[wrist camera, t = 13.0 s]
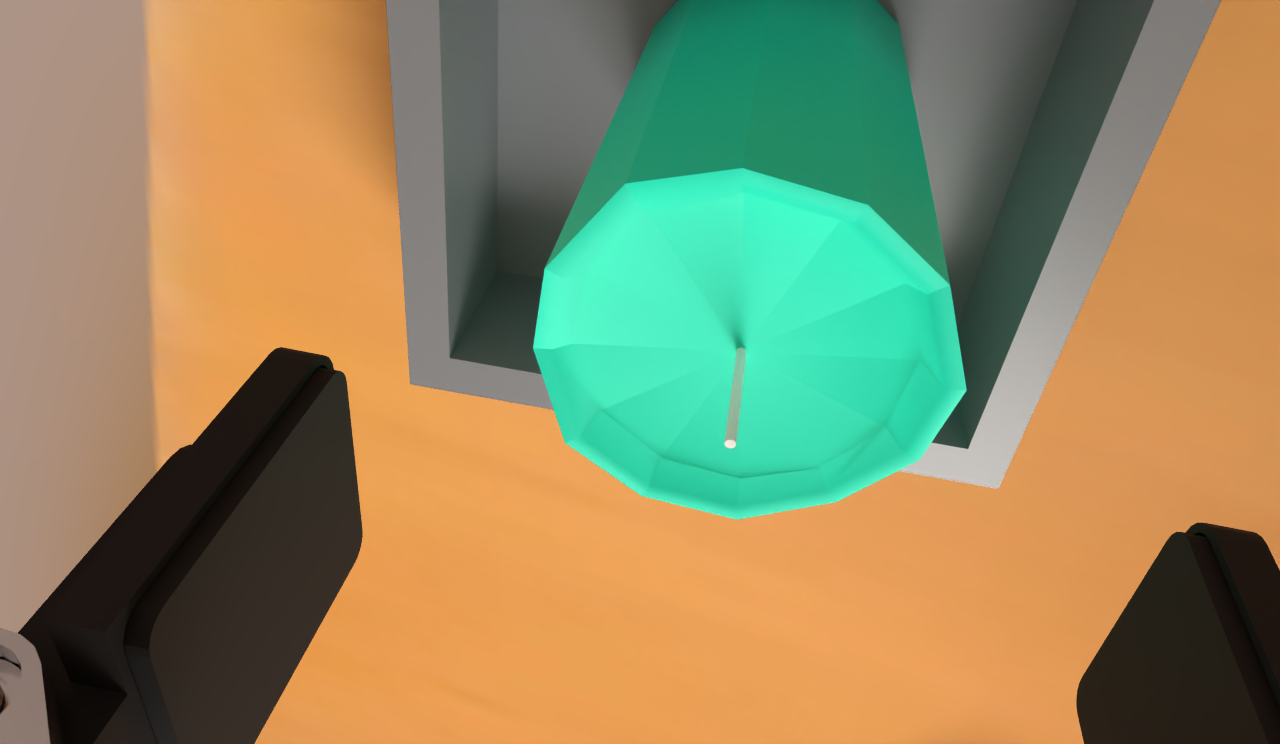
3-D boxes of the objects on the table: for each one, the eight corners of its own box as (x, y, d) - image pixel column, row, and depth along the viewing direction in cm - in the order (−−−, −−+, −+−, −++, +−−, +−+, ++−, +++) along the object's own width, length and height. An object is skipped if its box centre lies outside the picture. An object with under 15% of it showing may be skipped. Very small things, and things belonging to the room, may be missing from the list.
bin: (972, 361, 26) (998, 488, 22) (471, 276, 27) (410, 384, 23) (1209, -247, 17) (1320, -218, 14) (463, -342, 18) (364, -340, 14)
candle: (928, -52, 19) (1028, 240, 10) (895, 217, 23) (944, 621, 13) (632, -47, 20) (461, 222, 11) (646, 210, 24) (526, 584, 14)
